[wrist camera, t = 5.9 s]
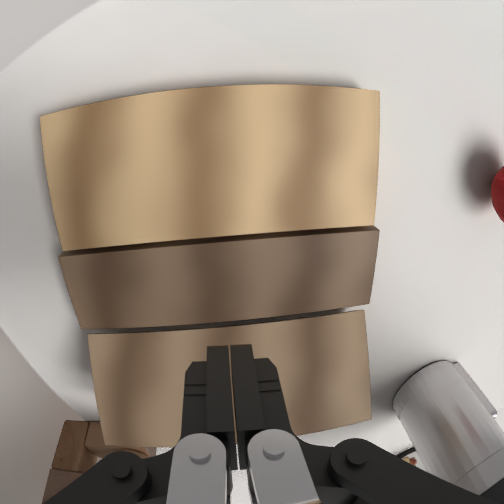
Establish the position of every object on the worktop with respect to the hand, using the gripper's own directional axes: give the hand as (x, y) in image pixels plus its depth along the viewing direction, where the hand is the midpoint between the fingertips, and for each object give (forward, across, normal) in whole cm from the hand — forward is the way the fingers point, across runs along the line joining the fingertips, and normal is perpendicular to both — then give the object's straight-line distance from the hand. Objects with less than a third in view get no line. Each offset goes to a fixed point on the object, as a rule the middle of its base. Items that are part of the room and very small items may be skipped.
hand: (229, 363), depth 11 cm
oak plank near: (+12, +1, -5) cm, 13 cm away
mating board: (+12, 0, +3) cm, 13 cm away
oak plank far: (+9, 0, +11) cm, 14 cm away
